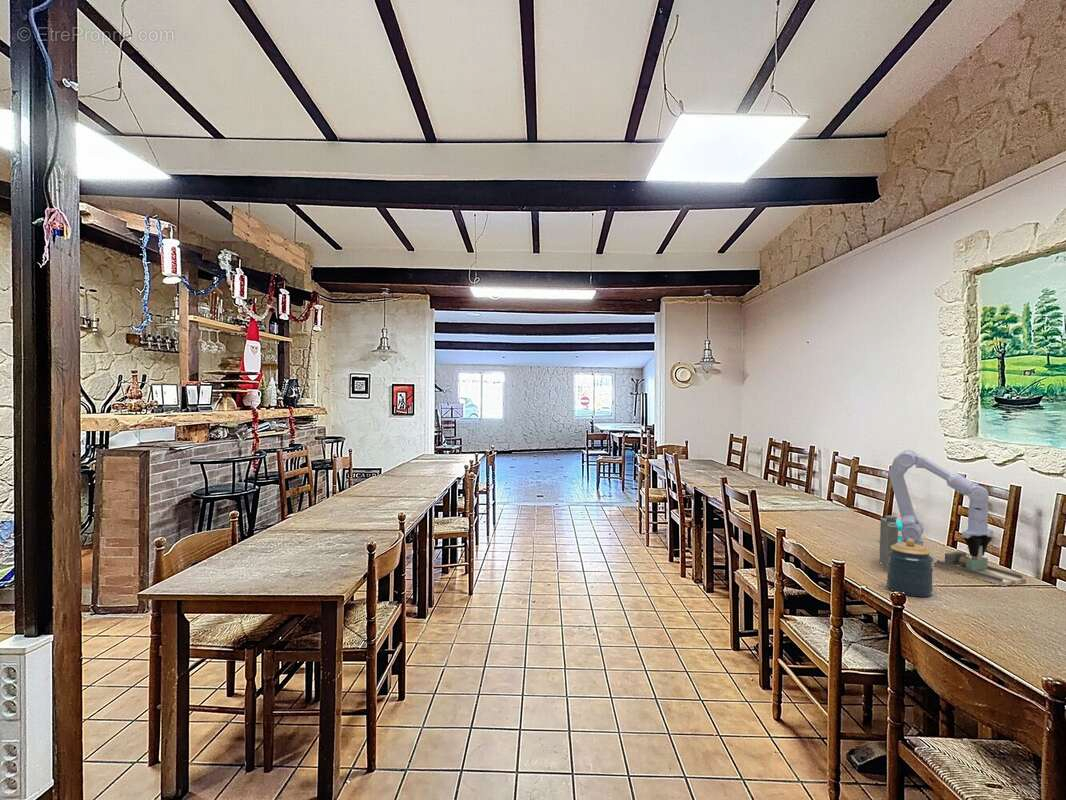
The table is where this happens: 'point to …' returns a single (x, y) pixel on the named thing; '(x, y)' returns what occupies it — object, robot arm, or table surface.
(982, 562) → the sliding jaw
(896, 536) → the hip flask
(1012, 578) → the base
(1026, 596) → the table surface
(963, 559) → the walnut
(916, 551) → the canister
